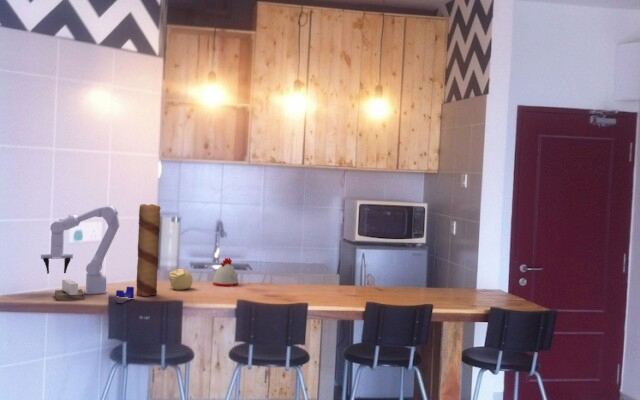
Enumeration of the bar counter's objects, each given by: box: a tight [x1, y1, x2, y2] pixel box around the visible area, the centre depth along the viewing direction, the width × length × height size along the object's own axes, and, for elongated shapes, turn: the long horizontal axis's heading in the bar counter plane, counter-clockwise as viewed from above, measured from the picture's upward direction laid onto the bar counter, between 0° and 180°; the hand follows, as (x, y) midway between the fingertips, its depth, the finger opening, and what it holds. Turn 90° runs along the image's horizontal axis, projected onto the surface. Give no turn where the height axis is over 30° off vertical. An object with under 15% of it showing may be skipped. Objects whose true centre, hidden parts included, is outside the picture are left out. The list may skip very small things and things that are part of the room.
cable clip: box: [115, 286, 135, 298], centre depth 304 cm, size 12×4×6 cm, turn 171°
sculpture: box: [168, 268, 194, 291], centre depth 341 cm, size 12×12×11 cm
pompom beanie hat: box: [212, 257, 239, 288], centre depth 360 cm, size 14×14×15 cm
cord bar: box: [61, 278, 79, 295], centre depth 307 cm, size 4×14×5 cm, turn 36°
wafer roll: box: [136, 203, 162, 297], centre depth 321 cm, size 10×11×45 cm
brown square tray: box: [54, 288, 86, 302], centre depth 307 cm, size 12×13×2 cm
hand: (56, 273), depth 318 cm, fingers open, 7 cm apart
